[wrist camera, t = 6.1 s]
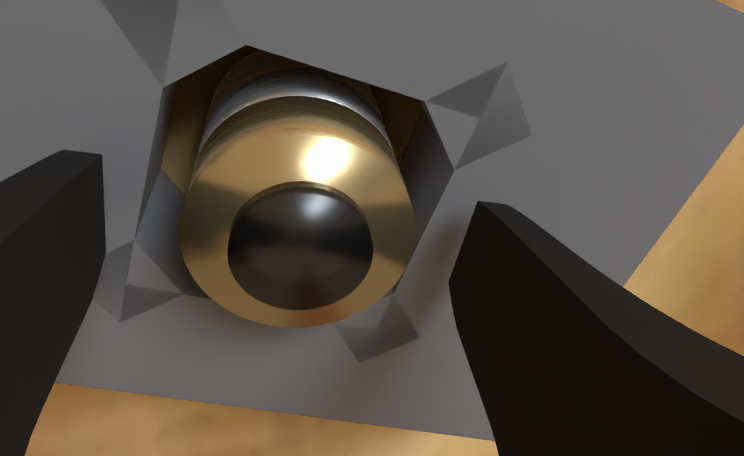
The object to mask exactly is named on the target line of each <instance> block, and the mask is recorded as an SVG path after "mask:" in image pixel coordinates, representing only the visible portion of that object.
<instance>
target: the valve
mask: <svg viewBox="0 0 744 456" xmlns="http://www.w3.org/2000/svg"><path fill="white" fill-rule="evenodd" d="M415 235H416V225H415V216H414V212H413V207H412V204H411V201H410V198H409V195H408V192H407V189H406V186H405V183H404V181H403V178H402V175H401V172H400V169H399V166H398V163H397V160H396V157H395V154H394V151H393V148H392V145H391V142H390V139H389V136H388V134H387V131H386V128H385V125H384V122H383V119H382V116H381V113H380V110H379V107H378V104H377V101H376V99H375V96H374V94H373V91H372V90H371V88H370V86H369V84H368V83H365V82H362V81H359V80H356V79H353V78H349V77H346V76H343V75H340V74H337V73H334V72H330V71H327V70H324V69H321V68H318V67H315V66H311V65H308V64H305V63H302V62H299V61H296V60H293V59H289V58H286V57H283V56H280V55H277V54H274V53H270V52H267V51H264V50H258V51H256V52H254V53H252V54H250V55H248V56H246V57H245V58H243V59H242V60H240V61H239V62H238V63H236V64H235V65H234V66H233V67H232V68H231V69H230V70H229V71H228V72H227V73H226V74H225V76H224V77H223V78H222V80H221V81H220V83H219V84H218V86H217V88H216V90H215V92H214V95H213V98H212V101H211V104H210V107H209V111H208V115H207V119H206V123H205V127H204V130H203V134H202V138H201V142H200V146H199V150H198V153H197V157H196V161H195V165H194V169H193V173H192V176H191V180H190V184H189V188H188V192H187V196H186V199H185V203H184V207H183V211H182V215H181V221H180V245H181V251H182V255H183V258H184V261H185V263H186V266H187V268H188V270H189V272H190V273H191V275H192V277H193V278H194V280H195V281H196V282H197V284H198V285H199V287H200V288H201V289H202V290H203V291H204V292H205V293H206V294H207V295H208V296H209V297H210V298H212V299H213V300H214V301H215V302H217V303H218V304H219V305H221V306H222V307H224V308H225V309H227V310H229V311H230V312H232V313H234V314H236V315H239V316H241V317H243V318H246V319H248V320H251V321H254V322H258V323H262V324H266V325H271V326H278V327H292V328H300V327H313V326H320V325H325V324H329V323H333V322H337V321H340V320H343V319H346V318H348V317H351V316H353V315H355V314H357V313H359V312H361V311H363V310H365V309H366V308H368V307H370V306H371V305H373V304H374V303H376V302H377V301H378V300H379V299H381V298H382V297H383V296H384V295H385V294H386V293H387V292H388V291H389V290H390V289H391V288H392V287H393V286H394V285H395V284H396V282H397V281H398V280H399V279H400V277H401V276H402V274H403V272H404V271H405V269H406V267H407V265H408V263H409V260H410V258H411V256H412V252H413V248H414V244H415Z"/></svg>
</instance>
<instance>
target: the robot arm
mask: <svg viewBox="0 0 744 456" xmlns="http://www.w3.org/2000/svg"><path fill="white" fill-rule="evenodd" d="M105 255H106V235H105V210H104V185H103V159H102V154H96V153H88V152H80V151H72V150H64V149H63V150H61V151H58V152H56V153H54V154H52V155H50V156H48V157H46V158H44V159H42V160H40V161H38V162H36V163H34V164H33V165H31V166H29V167H27V168H25V169H23V170H21V171H20V172H18V173H16V174H14V175H12V176H10V177H8V178H6V179H5V180H3V181H1V182H0V456H24V455H25V452H26V449H27V446H28V443H29V440H30V437H31V435H32V432H33V430H34V427H35V425H36V422H37V420H38V417H39V415H40V413H41V410H42V408H43V406H44V403H45V401H46V399H47V397H48V395H49V393H50V391H51V388H52V386H53V384H54V382H55V380H56V378H57V376H58V373H59V371H60V369H61V367H62V365H63V363H64V360H65V358H66V356H67V354H68V352H69V350H70V348H71V345H72V343H73V341H74V339H75V337H76V335H77V332H78V330H79V328H80V326H81V324H82V321H83V319H84V317H85V315H86V313H87V310H88V308H89V306H90V304H91V301H92V299H93V296H94V292H95V289H96V286H97V283H98V279H99V276H100V272H101V269H102V265H103V262H104V258H105ZM448 285H449V291H450V297H451V303H452V309H453V314H454V318H455V323H456V327H457V331H458V334H459V337H460V340H461V343H462V346H463V349H464V351H465V354H466V357H467V360H468V363H469V366H470V369H471V372H472V374H473V377H474V380H475V383H476V386H477V389H478V391H479V394H480V397H481V400H482V403H483V406H484V409H485V411H486V414H487V417H488V420H489V423H490V426H491V429H492V432H493V436H494V439H495V442H496V446H497V450H498V454H499V456H744V356H742V355H740V354H738V353H736V352H734V351H732V350H730V349H728V348H726V347H724V346H722V345H720V344H718V343H716V342H714V341H712V340H710V339H708V338H706V337H704V336H703V335H701V334H699V333H697V332H695V331H693V330H692V329H690V328H688V327H686V326H685V325H683V324H681V323H679V322H678V321H676V320H674V319H673V318H671V317H669V316H667V315H666V314H664V313H662V312H661V311H659V310H657V309H656V308H654V307H652V306H651V305H649V304H648V303H646V302H644V301H643V300H641V299H640V298H638V297H637V296H635V295H634V294H632V293H631V292H629V291H628V290H626V289H625V288H623V287H622V286H620V285H619V284H617V283H616V282H614V281H613V280H612V279H610V278H609V277H607V276H606V275H604V274H603V273H602V272H600V271H599V270H597V269H596V268H595V267H593V266H592V265H591V264H589V263H588V262H586V261H585V260H584V259H582V258H581V257H580V256H578V255H577V254H576V253H574V252H573V251H572V250H570V249H569V248H568V247H566V246H565V245H564V244H563V243H561V242H560V241H559V240H557V239H556V238H555V237H553V236H552V235H551V234H549V233H548V232H547V231H545V230H544V229H543V228H541V227H540V226H539V225H537V224H536V223H535V222H533V221H532V220H531V219H529V218H528V217H526V216H525V215H523V214H522V213H521V212H519V211H517V210H516V209H514V208H513V207H511V206H509V205H507V204H501V203H493V202H485V201H477V204H476V206H475V209H474V212H473V215H472V217H471V220H470V223H469V226H468V229H467V231H466V234H465V237H464V240H463V243H462V245H461V248H460V251H459V254H458V256H457V259H456V262H455V265H454V268H453V270H452V273H451V276H450V279H449V282H448Z"/></svg>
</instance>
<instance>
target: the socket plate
mask: <svg viewBox="0 0 744 456" xmlns="http://www.w3.org/2000/svg"><path fill="white" fill-rule="evenodd" d="M245 45H248V46H251V47H255V48H258V49H261V50H264V51H267V52H270V53H274V54H277V55H280V56H283V57H286V58H289V59H293V60H296V61H299V62H302V63H305V64H308V65H311V66H315V67H318V68H321V69H324V70H327V71H330V72H334V73H337V74H340V75H343V76H346V77H349V78H353V79H356V80H359V81H362V82H365V83H368V84H372V85H375V86H378V87H381V88H384V89H387V90H391V91H394V92H397V93H400V94H403V95H406V96H410V97H413V98H416V99H419V100H420V102H421V104H422V106H423V108H424V111H423V113H422V115H421V118H420V120H419V122H418V125H417V127H416V129H415V132H414V134H413V136H412V138H411V141H410V143H409V145H408V148H407V150H406V152H405V155H404V157H403V159H402V161H401V164H400V166H399V169H400V172H401V175H402V178H403V181H404V183H405V186H406V189H407V192H408V195H409V198H410V201H411V204H412V207H413V212H414V216H415V225H416V235H415V244H414V248H413V252H412V256H411V258H410V260H409V263H408V265H407V267H406V269H405V271H404V272H403V274H402V276H401V277H400V279H399V280H398V281H397V282H396V284H395V285H394V286H393V287H392V288H391V289H390V290H389V291H388V292H387V293H386V294H385V295H384V296H383V297H382V298H381V299H379V300H378V301H377V302H376V303H374V304H373V305H371V306H370V307H368V308H366V309H365V310H363V311H361V312H359V313H357V314H355V315H353V316H351V317H348V318H346V319H343V320H340V321H337V322H333V323H329V324H325V325H320V326H313V327H300V328H292V327H278V326H271V325H266V324H262V323H258V322H254V321H251V320H248V319H246V318H243V317H241V316H239V315H236V314H234V313H232V312H230V311H229V310H227V309H225V308H224V307H222V306H221V305H219V304H218V303H217V302H215V301H214V300H213V299H212V298H210V297H209V296H208V295H207V294H206V293H205V292H204V291H203V290H202V289H201V288H200V287H199V285H198V284H197V282H196V281H195V280H194V278H193V277H192V275H191V273H190V272H189V270H188V268H187V266H186V263H185V261H184V258H183V255H182V251H181V245H180V221H181V215H182V211H183V207H184V203H185V197H184V196H183V195H182V194H181V192H180V191H179V190H178V189H177V187H176V186H175V185H174V183H173V182H172V181H171V180H170V178H169V177H168V176H167V175H166V173H165V172H164V171H163V169H162V168H161V163H162V158H163V152H164V147H165V142H166V137H167V132H168V127H169V122H170V117H171V112H172V107H173V102H174V97H175V92H176V87H177V82H178V80H179V79H181V78H183V77H185V76H187V75H189V74H191V73H193V72H194V71H196V70H198V69H200V68H202V67H204V66H206V65H208V64H210V63H212V62H214V61H216V60H218V59H220V58H222V57H223V56H225V55H227V54H229V53H231V52H233V51H235V50H237V49H239V48H241V47H243V46H245ZM743 124H744V13H742V12H740V11H738V10H736V9H733V8H731V7H729V6H727V5H724V4H722V3H720V2H717V1H715V0H0V182H1V181H3V180H5V179H6V178H8V177H10V176H12V175H14V174H16V173H18V172H20V171H21V170H23V169H25V168H27V167H29V166H31V165H33V164H34V163H36V162H38V161H40V160H42V159H44V158H46V157H48V156H50V155H52V154H54V153H56V152H58V151H61V150H63V149H64V150H72V151H80V152H88V153H96V154H102V159H103V185H104V210H105V235H106V255H105V258H104V262H103V265H102V269H101V272H100V276H99V279H98V283H97V286H96V289H95V292H94V296H93V299H92V301H91V304H90V306H89V308H88V310H87V313H86V315H85V317H84V319H83V321H82V324H81V326H80V328H79V330H78V332H77V335H76V337H75V339H74V341H73V343H72V345H71V348H70V350H69V352H68V354H67V356H66V358H65V360H64V363H63V365H62V367H61V369H60V371H59V373H58V376H57V378H56V380H55V383H63V384H70V385H78V386H85V387H93V388H100V389H108V390H115V391H123V392H130V393H138V394H146V395H153V396H161V397H168V398H176V399H183V400H191V401H198V402H206V403H213V404H221V405H228V406H236V407H243V408H251V409H258V410H266V411H273V412H281V413H288V414H296V415H303V416H311V417H319V418H326V419H334V420H341V421H349V422H356V423H364V424H371V425H379V426H386V427H394V428H401V429H409V430H416V431H424V432H431V433H439V434H446V435H454V436H461V437H469V438H476V439H484V440H491V441H495V439H494V436H493V432H492V429H491V426H490V423H489V420H488V417H487V414H486V411H485V409H484V406H483V403H482V400H481V397H480V394H479V391H478V389H477V386H476V383H475V380H474V377H473V374H472V372H471V369H470V366H469V363H468V360H467V357H466V354H465V351H464V349H463V346H462V343H461V340H460V337H459V334H458V331H457V327H456V323H455V318H454V314H453V309H452V303H451V297H450V291H449V285H448V282H449V279H450V276H451V273H452V270H453V268H454V265H455V262H456V259H457V256H458V254H459V251H460V248H461V245H462V243H463V240H464V237H465V234H466V231H467V229H468V226H469V223H470V220H471V217H472V215H473V212H474V209H475V206H476V204H477V201H485V202H493V203H501V204H507V205H509V206H511V207H513V208H514V209H516V210H517V211H519V212H521V213H522V214H523V215H525V216H526V217H528V218H529V219H531V220H532V221H533V222H535V223H536V224H537V225H539V226H540V227H541V228H543V229H544V230H545V231H547V232H548V233H549V234H551V235H552V236H553V237H555V238H556V239H557V240H559V241H560V242H561V243H563V244H564V245H565V246H566V247H568V248H569V249H570V250H572V251H573V252H574V253H576V254H577V255H578V256H580V257H581V258H582V259H584V260H585V261H586V262H588V263H589V264H591V265H592V266H593V267H595V268H596V269H597V270H599V271H600V272H602V273H603V274H604V275H606V276H607V277H609V278H610V279H612V280H613V281H614V282H616V283H617V284H619V285H620V286H622V287H623V286H624V284H625V283H626V282H627V280H628V279H629V278H630V276H631V275H632V274H633V272H634V271H635V270H636V268H637V267H638V266H639V264H640V263H641V262H642V260H643V259H644V258H645V256H646V255H647V254H648V252H649V251H650V250H651V248H652V247H653V245H654V244H655V243H656V241H657V240H658V239H659V237H660V236H661V235H662V233H663V232H664V231H665V229H666V228H667V227H668V225H669V224H670V223H671V221H672V220H673V219H674V217H675V216H676V215H677V213H678V212H679V211H680V209H681V208H682V206H683V205H684V204H685V202H686V201H687V200H688V198H689V197H690V196H691V194H692V193H693V192H694V190H695V189H696V188H697V186H698V185H699V184H700V182H701V181H702V180H703V178H704V177H705V176H706V174H707V173H708V172H709V170H710V169H711V167H712V166H713V165H714V163H715V162H716V161H717V159H718V158H719V157H720V155H721V154H722V153H723V151H724V150H725V149H726V147H727V146H728V145H729V143H730V142H731V141H732V139H733V138H734V137H735V135H736V134H737V133H738V131H739V130H740V128H741V127H742V126H743Z"/></svg>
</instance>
